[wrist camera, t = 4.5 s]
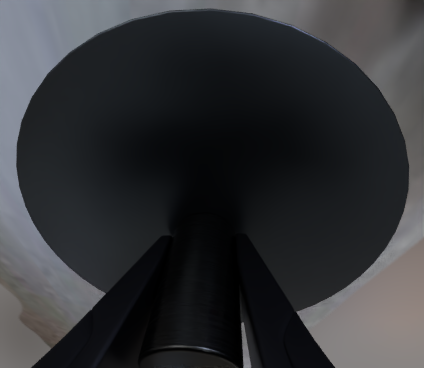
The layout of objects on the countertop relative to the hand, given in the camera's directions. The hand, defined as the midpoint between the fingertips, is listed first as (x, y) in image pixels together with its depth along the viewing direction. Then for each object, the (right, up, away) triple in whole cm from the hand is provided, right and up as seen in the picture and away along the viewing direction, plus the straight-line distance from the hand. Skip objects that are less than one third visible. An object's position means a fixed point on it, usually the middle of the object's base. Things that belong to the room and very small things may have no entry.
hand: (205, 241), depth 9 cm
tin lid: (0, 0, +1) cm, 1 cm away
